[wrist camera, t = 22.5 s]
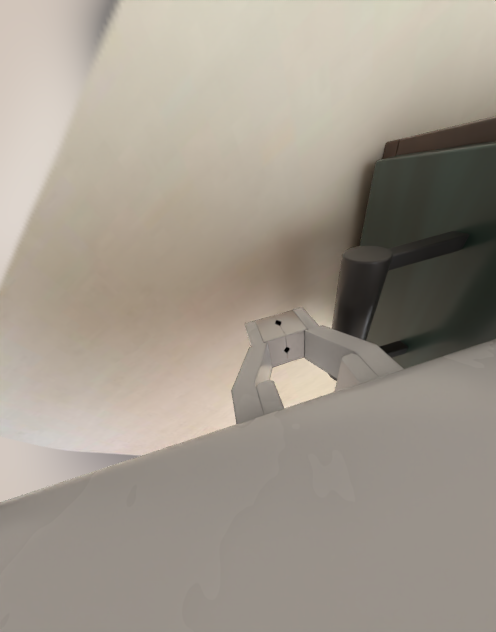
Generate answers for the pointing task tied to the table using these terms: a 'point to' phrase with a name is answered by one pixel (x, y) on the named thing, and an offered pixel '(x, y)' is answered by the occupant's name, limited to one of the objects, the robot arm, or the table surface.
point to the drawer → (424, 256)
